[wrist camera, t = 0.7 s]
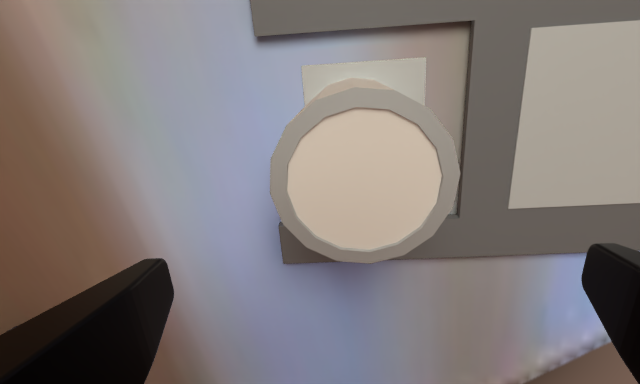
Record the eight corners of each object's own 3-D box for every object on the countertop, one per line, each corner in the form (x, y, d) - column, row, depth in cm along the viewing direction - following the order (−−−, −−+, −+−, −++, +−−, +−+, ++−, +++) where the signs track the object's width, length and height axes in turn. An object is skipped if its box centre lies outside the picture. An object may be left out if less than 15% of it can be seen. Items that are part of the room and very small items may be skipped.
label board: (766, -66, 17) (785, -70, 16) (668, 242, 23) (678, 249, 22) (250, -23, 18) (246, -25, 18) (284, 257, 24) (283, 264, 23)
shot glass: (443, 85, 20) (494, 119, 13) (396, 207, 22) (419, 283, 16) (307, 46, 19) (293, 61, 13) (276, 175, 22) (251, 241, 15)
